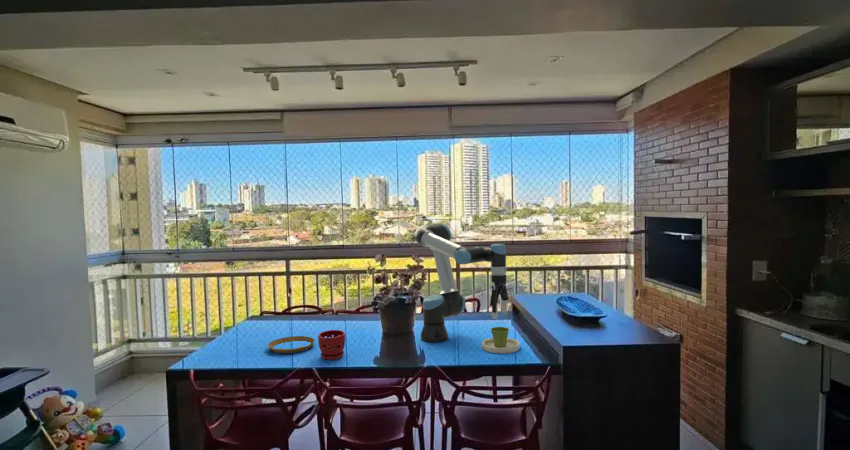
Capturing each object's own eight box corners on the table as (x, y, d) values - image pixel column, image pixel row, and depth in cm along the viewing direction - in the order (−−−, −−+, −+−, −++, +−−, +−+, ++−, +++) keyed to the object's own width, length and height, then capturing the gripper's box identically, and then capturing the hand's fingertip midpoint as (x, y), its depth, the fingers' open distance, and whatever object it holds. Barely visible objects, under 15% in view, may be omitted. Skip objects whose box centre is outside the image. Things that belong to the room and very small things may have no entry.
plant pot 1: (314, 357, 220) (313, 333, 220) (336, 351, 229) (335, 328, 229) (328, 363, 211) (327, 338, 210) (351, 356, 220) (350, 332, 220)
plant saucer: (324, 344, 242) (324, 338, 242) (290, 358, 221) (290, 351, 221) (293, 339, 254) (292, 334, 254) (258, 351, 234) (258, 345, 233)
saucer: (476, 350, 223) (476, 345, 223) (489, 340, 239) (489, 335, 239) (513, 355, 213) (512, 350, 213) (524, 344, 230) (524, 339, 230)
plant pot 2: (509, 349, 221) (509, 331, 221) (490, 348, 223) (490, 331, 222) (509, 343, 230) (509, 327, 230) (491, 343, 232) (491, 326, 232)
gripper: (497, 278, 212) (498, 322, 213) (513, 271, 234) (514, 311, 235) (482, 277, 216) (483, 320, 217) (500, 270, 238) (500, 309, 239)
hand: (499, 315), depth 226 cm, fingers open, 13 cm apart
